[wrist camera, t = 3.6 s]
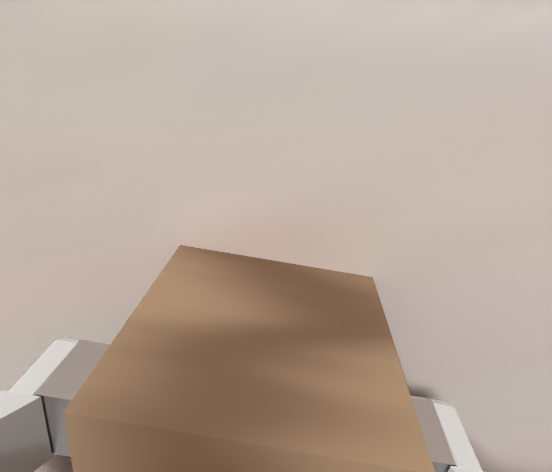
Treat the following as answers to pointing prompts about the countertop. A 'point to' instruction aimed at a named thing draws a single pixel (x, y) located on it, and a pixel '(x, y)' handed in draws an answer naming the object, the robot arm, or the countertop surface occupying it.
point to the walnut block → (249, 376)
